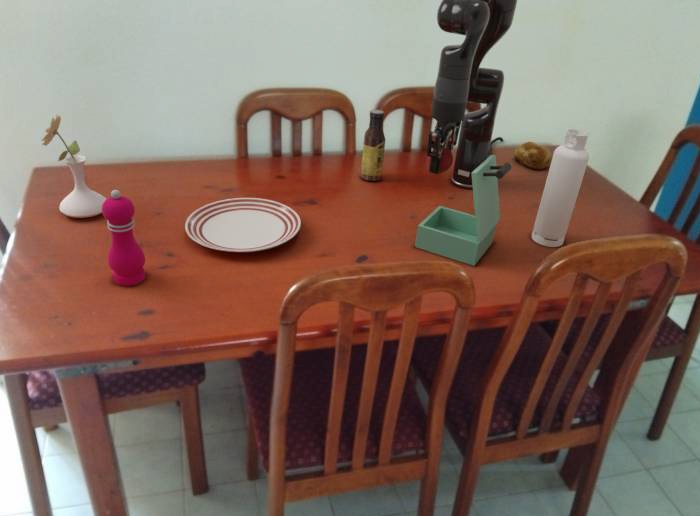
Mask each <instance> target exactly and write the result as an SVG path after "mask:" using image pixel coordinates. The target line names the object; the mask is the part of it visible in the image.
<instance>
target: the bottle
mask: <svg viewBox="0 0 700 516" xmlns="http://www.w3.org/2000/svg"><path fill="white" fill-rule="evenodd" d="M577 134H578V135H577ZM579 134H583V135H579ZM588 137H589V133H588V132H586V131H584V130H581V129H574V128H572V129H568V130H566V134H565V137H564V142H563V144H561V145H559V146H557V147H556V148H555V149H554V151H553V153H552V156H551V162H550V164H549V169H548V173H547V176H546V181H545V184H544V188H543V192H542V195H541V198H540V203H539V206H538V210H537V214H536V218H535V221H534V224H533V229H532V232H531V235H530V237H531V239H532V241H533V242H535V244H539V245H541V246H544V247H549V248H558V247H562V246H563V244H564V242H565V239H566V235H567V232H568V228H569V225H570V222H571V218H572V216H573V212H574V209H575V206H576V202H577V199H578V195H579V192H580V189H581V187H582V182H583V179H584V177H585V172H586V169H587V167H588V163H589V160H590V154H589V151H587V149H586V148H585V147H586V144H587V140H588Z"/></svg>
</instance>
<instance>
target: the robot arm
mask: <svg viewBox="0 0 700 516" xmlns="http://www.w3.org/2000/svg"><path fill="white" fill-rule="evenodd" d="M517 3H518V0H442V1H441V2H440V4H439V6H438V9H437V13H436V21H437V25H438V27H439V29H440V30H441V31H443V32H446V33H447V34H455V35H461V36H464V41H463V42H462V43H460V44H449V45H445V46H444V47H443V48H442V49H441V52H440V54H439V55H440V56H439V63H438V68H437V69H438V71H437V76H436V79H435V83H434V89H433V95H432V96H433V97H432V104H431V109H430V110H431V111H430V116H431V117H432V118H433V119H434V120H435V121H436V124H435V126H434V128H433V131H432V130H430V131H429V133H428V141H427V153H426V156H427V157H428V156H429V157H431V161H430V166H429V167H428V168H429V169H428V172H429V173H430V174H434V175H438V174H437V173H438V172H439V168H440V162H441V157H442V153H443V150H444V149H446V147H448V148H449V149H450V151H451V152H452V151H453V150H454V149H455V148H454V147H456V152H455V158H454V163H453V169H452V176H451V178H450V179H451V180H450V181H451V183H452V184H453V185H455V186H457V187H458V188H459V187H460V188H462V189H467V190H468V189H470V190H471V189H472V190H473V185H472V172H473V171H474V170H475V169H476V168H477V167H478V166H480V165H481V164H482V163H483V162H484V161H485V160H486V159H487V158H488V157H489V156H490V155H494V154H493V153H492V150H491V147H492V145H493V144H495V143H496V142H498V141H500V142H504V138H503V137H501V136H497V137H495V138H494V139H492V137H493V132H494V127H495V122H496V117H497V112H498V109H499V105H500V101H501V96H502V93H503V88H504V85H505V84H504V83H505V74H504V71H503V70H502V69H498V68H497V69H496V68H490V67H489V68H488V67H480V66H481V64H482V63H483V60H484V59H485V57H487V56H486V55H488V53H489V52H490V51H491V49H493V47H494V46H496V44H497V43H498V42H499V41H500V40H501V39H503V38H504V36H505V35H507V33H508V31H509V30H510V28H511V26H512V24H513V21H514V16H515V13H516V8H517ZM468 103H474V104H482V105H485V106H483V107H481V108H480V109H477V110H474V111H469V112H466V110H467V104H468ZM440 143H443V144H442V145H441V144H440ZM435 149H436V152H435ZM439 150H440V151H439Z"/></svg>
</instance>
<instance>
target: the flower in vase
mask: <svg viewBox="0 0 700 516" xmlns="http://www.w3.org/2000/svg"><path fill="white" fill-rule="evenodd" d="M61 120H62V117H61V115H58V114H56V115H55V117H52V118H51V120H50V125H49V126H48V127H46V128H45V133H46V134H45V135H44V136H43V137H42V138H41V142H42V146H44V147H45V146H48V145H49V144H51V142H52V140H53V139H54V138H55V136H56V135H57V136H58V138H59V139H60V140H61V141H62V143H63V145H64V146H65V148H66V150H63V151H62V152H61V154H60V155H59V157H58V159H57V160H58V162H62V161H63V162H64V163H65V164H66V165H67V166H68V167H69V169H70V171H71V173H72V174H71V175H72V176H73V181H74V188H73V190H72V191H70V193H68V194H67V195H66V196H65V197H64V198H63V199H62V201H61V202H60V204H59V207H58V208H59V209H58V210H59V211H60V212H61V213H62V214H63V215H65V216H67V217H70V218H77V219H79V218H80V219H84V218H91V217H96V216H99V215H101V214H103V213H102V205H103V203H104V201H105V200H106V199H107V198H106V197H105V196H104V195H102V194H100V193H98V192H97V191H95V190H92V189H91V188H89V187H88V186H87V184H86V181H85V176H84V166H85V163H86V161H87V159H88V158H87V157H86V156H85V155H81V154H80V155H79V153H80V151H81V149H80V148H81V147H80V146H79V144H78V142H77V140H76V139H75V140H73V142H71V143H70V144H69V145H67V142H65V140H64V138H63V137H62V136H61V135H60V133H59V131H58V130H59V128H60V124H61V122H62V121H61ZM68 153H69V155H70V156H67V155H68Z"/></svg>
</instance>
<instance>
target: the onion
mask: <svg viewBox="0 0 700 516" xmlns="http://www.w3.org/2000/svg"><path fill="white" fill-rule="evenodd" d="M440 144H441V145H442V144H443V143H440ZM439 151H440V150H439ZM435 152H436V149H435ZM430 161H431V157H429V156H427V164H428V165H429V167H430ZM453 162H454V156H453V152H452V150H451V151H450V149H449V148H448V147H446V149H444V150H443V153H442V157H441V162H440V168H439V172H438V173H437V174H436V175H441V174H443V173H444V172H447V171H448V170H449V169H450V168H451V167H452V166H453V164H454V163H453Z"/></svg>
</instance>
